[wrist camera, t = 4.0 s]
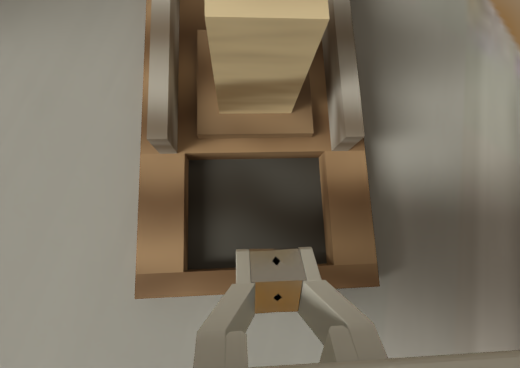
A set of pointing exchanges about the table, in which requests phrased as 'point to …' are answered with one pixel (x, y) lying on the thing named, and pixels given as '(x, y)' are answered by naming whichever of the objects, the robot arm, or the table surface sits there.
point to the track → (248, 170)
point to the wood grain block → (257, 67)
